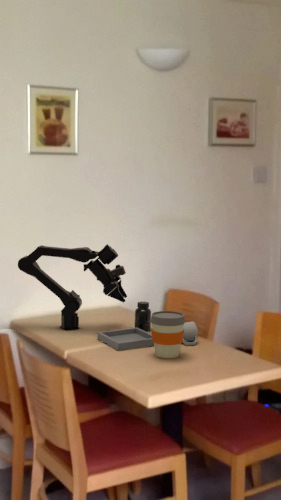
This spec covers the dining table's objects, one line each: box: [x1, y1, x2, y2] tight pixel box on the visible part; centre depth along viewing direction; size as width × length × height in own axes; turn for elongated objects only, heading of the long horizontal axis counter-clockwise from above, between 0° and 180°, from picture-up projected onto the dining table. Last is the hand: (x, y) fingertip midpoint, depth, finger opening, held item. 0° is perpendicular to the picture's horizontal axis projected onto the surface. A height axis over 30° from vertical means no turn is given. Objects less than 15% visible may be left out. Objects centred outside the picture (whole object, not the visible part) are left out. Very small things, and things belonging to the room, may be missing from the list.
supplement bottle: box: [134, 301, 152, 333], centre depth 268 cm, size 7×7×12 cm
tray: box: [96, 327, 154, 352], centre depth 251 cm, size 18×18×3 cm
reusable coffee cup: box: [150, 310, 186, 359], centre depth 234 cm, size 13×12×15 cm
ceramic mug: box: [182, 321, 199, 346], centre depth 251 cm, size 11×8×8 cm
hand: (125, 299), depth 268 cm, fingers open, 9 cm apart
